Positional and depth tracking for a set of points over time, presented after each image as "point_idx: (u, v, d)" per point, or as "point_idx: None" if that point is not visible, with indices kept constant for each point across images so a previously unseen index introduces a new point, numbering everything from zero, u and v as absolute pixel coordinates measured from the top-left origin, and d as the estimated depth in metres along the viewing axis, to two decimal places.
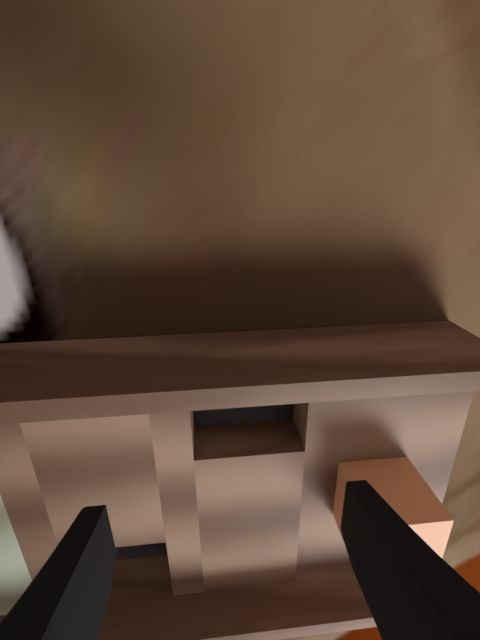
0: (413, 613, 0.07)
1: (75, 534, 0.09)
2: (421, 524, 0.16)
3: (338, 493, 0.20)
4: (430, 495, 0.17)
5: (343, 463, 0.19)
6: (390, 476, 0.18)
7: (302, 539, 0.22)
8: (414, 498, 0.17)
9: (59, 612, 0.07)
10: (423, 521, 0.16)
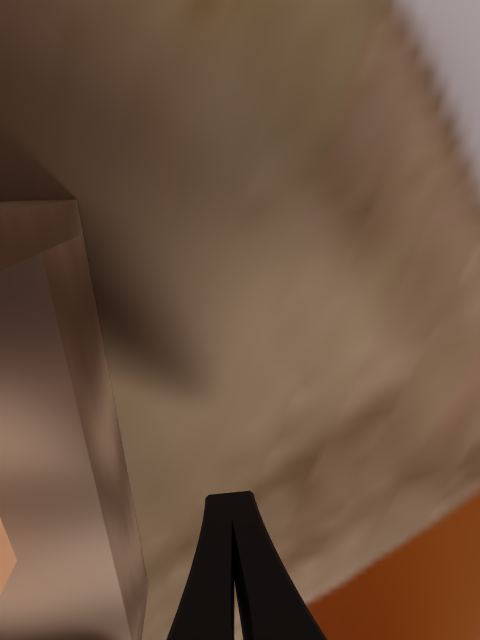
0: (250, 634, 0.07)
1: (215, 520, 0.09)
2: None
3: None
4: None
5: None
6: None
7: None
8: None
9: None
10: None
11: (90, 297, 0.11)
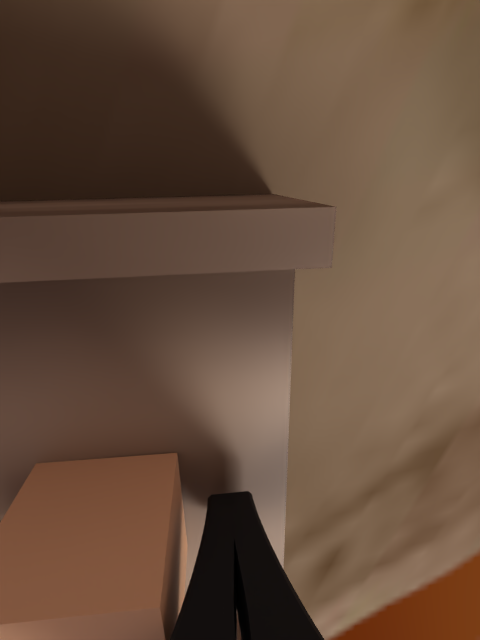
0: (248, 635, 0.07)
1: (217, 519, 0.09)
2: (74, 618, 0.06)
3: None
4: (156, 537, 0.08)
5: (42, 465, 0.10)
6: (109, 492, 0.09)
7: None
8: (113, 546, 0.08)
9: None
10: (82, 610, 0.07)
11: None
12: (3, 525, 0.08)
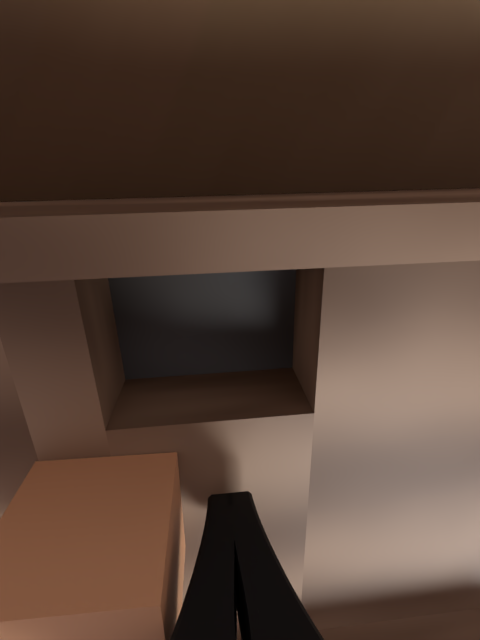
0: (248, 635, 0.07)
1: (217, 519, 0.09)
2: (74, 616, 0.06)
3: None
4: (156, 536, 0.08)
5: (41, 463, 0.10)
6: (109, 491, 0.09)
7: (309, 567, 0.13)
8: (114, 544, 0.08)
9: None
10: (83, 608, 0.06)
11: None
12: (2, 523, 0.08)
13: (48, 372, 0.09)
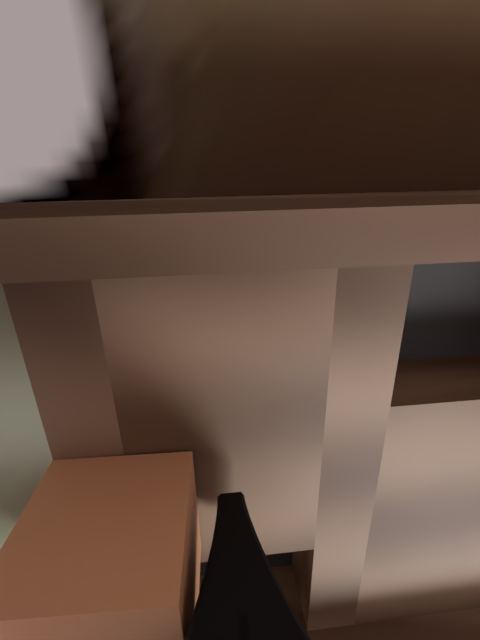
0: None
1: (228, 518, 0.09)
2: (93, 615, 0.06)
3: None
4: (173, 536, 0.08)
5: (59, 462, 0.10)
6: (125, 490, 0.09)
7: None
8: (131, 543, 0.08)
9: None
10: (101, 606, 0.07)
11: None
12: (22, 520, 0.08)
13: (362, 351, 0.10)
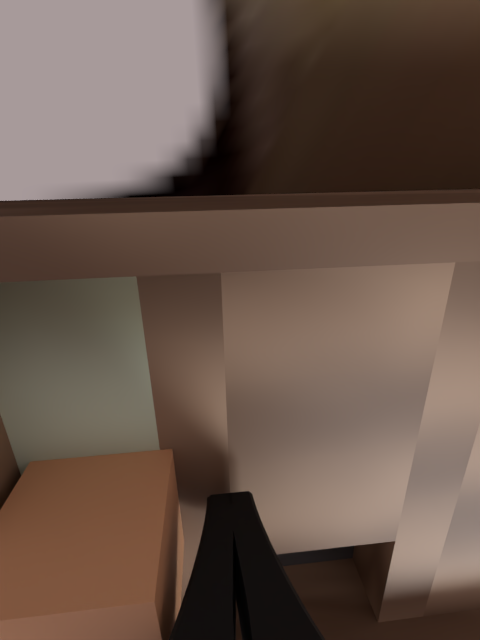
0: (248, 635, 0.07)
1: (216, 519, 0.09)
2: (67, 614, 0.06)
3: None
4: (150, 533, 0.08)
5: (36, 463, 0.10)
6: (103, 489, 0.09)
7: None
8: (108, 542, 0.08)
9: None
10: (76, 605, 0.06)
11: None
12: None
13: (467, 344, 0.10)
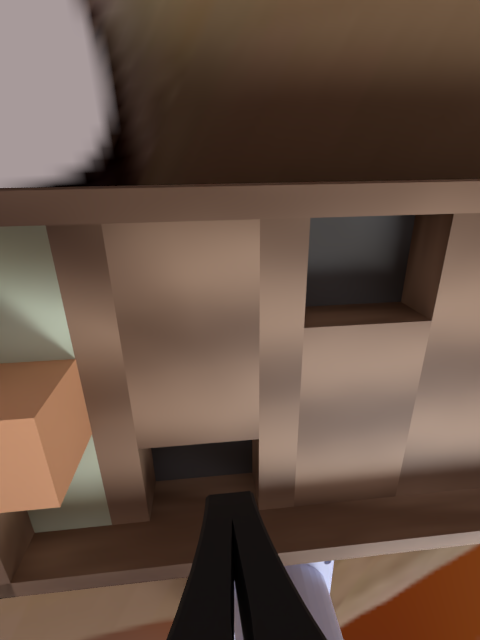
0: (250, 634, 0.07)
1: (215, 520, 0.09)
2: None
3: None
4: (43, 393, 0.12)
5: None
6: (21, 376, 0.14)
7: (411, 440, 0.19)
8: (16, 397, 0.12)
9: None
10: None
11: None
12: None
13: (280, 286, 0.15)
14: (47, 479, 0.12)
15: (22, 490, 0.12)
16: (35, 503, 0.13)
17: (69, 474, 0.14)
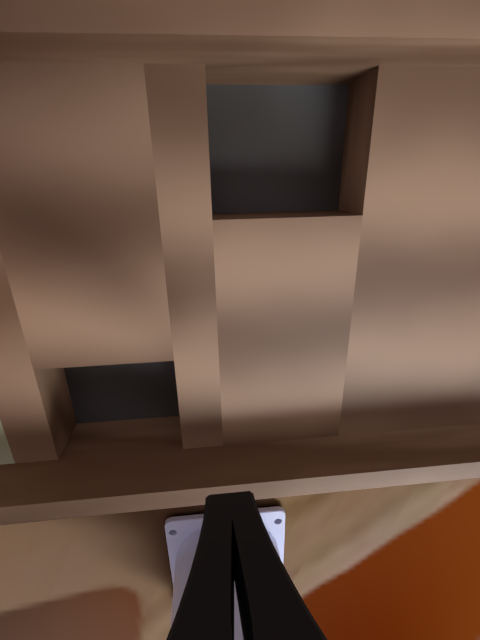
0: (250, 634, 0.07)
1: (215, 520, 0.09)
2: None
3: None
4: None
5: None
6: None
7: (350, 367, 0.17)
8: None
9: None
10: None
11: None
12: None
13: (179, 164, 0.13)
14: None
15: None
16: None
17: None
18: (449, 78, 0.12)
